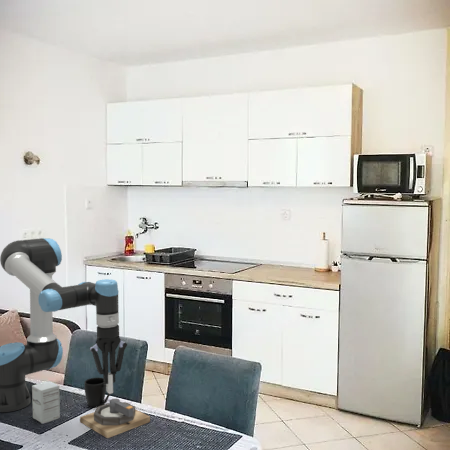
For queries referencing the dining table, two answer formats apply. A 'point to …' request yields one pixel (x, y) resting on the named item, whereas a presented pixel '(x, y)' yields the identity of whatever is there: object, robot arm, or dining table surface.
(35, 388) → the supplement box
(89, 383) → the mug
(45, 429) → the dining table surface
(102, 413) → the dial
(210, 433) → the dining table surface
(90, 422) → the dial board
